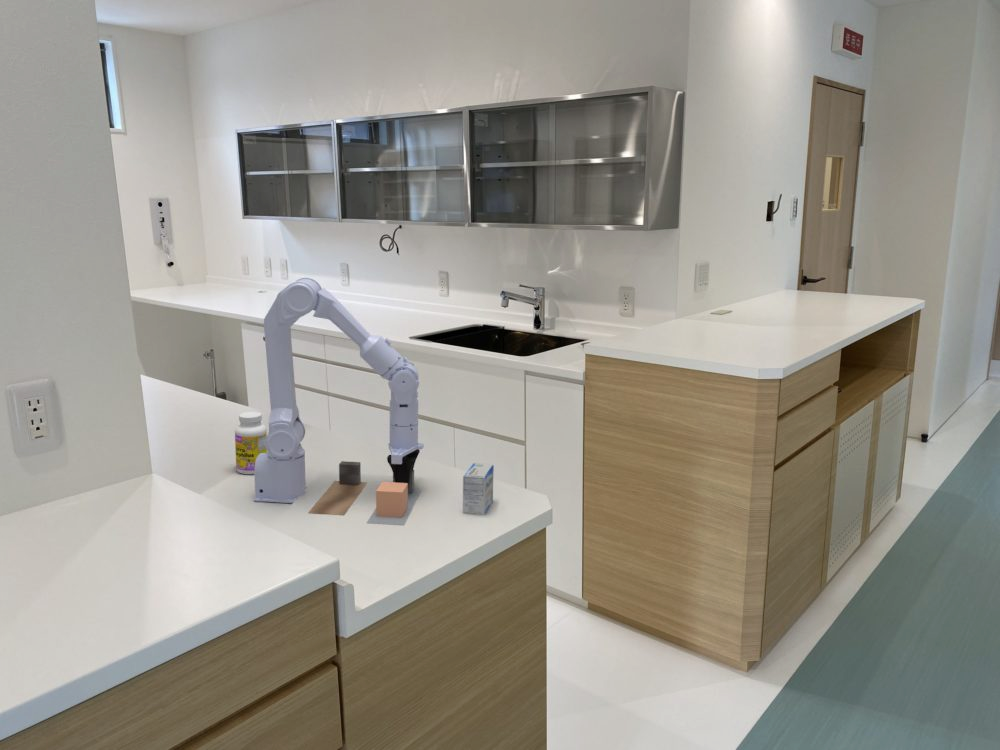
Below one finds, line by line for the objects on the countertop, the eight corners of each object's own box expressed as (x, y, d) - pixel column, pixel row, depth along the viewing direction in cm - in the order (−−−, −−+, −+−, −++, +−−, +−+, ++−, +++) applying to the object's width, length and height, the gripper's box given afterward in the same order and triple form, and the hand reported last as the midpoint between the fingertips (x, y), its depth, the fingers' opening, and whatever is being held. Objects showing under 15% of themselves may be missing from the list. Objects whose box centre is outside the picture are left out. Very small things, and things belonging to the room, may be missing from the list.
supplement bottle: (229, 472, 165) (227, 416, 163) (250, 463, 171) (248, 409, 169) (254, 477, 163) (252, 419, 160) (274, 468, 169) (272, 412, 166)
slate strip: (366, 527, 139) (366, 500, 138) (387, 492, 156) (387, 468, 155) (404, 529, 138) (404, 502, 137) (421, 494, 156) (421, 470, 155)
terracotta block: (376, 516, 142) (376, 490, 141) (382, 506, 147) (382, 481, 146) (402, 517, 142) (402, 492, 141) (407, 507, 146) (407, 483, 145)
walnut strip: (307, 517, 142) (307, 491, 141) (335, 484, 160) (334, 460, 159) (344, 519, 142) (343, 493, 141) (367, 486, 160) (367, 462, 158)
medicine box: (484, 520, 144) (485, 477, 142) (461, 517, 145) (462, 474, 143) (493, 505, 152) (494, 464, 150) (471, 502, 152) (472, 462, 151)
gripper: (417, 433, 145) (416, 500, 147) (429, 414, 159) (428, 475, 162) (380, 432, 145) (380, 498, 148) (396, 413, 159) (396, 474, 162)
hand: (403, 486), depth 155 cm, fingers closed on slate strip, 2 cm apart
